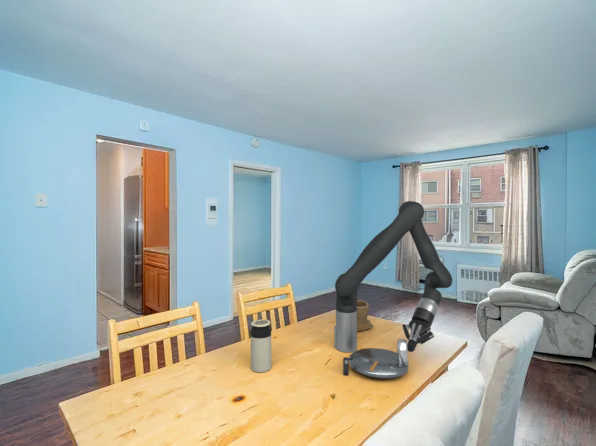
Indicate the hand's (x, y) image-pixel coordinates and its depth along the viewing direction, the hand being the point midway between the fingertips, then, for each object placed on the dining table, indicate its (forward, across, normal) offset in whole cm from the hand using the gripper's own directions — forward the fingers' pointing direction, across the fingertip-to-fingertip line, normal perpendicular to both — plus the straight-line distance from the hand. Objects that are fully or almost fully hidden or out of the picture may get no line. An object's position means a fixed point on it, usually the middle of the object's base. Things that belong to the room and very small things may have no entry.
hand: (409, 350), depth 121 cm
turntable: (+9, -9, -1) cm, 13 cm away
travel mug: (+34, -40, -23) cm, 57 cm away
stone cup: (-10, -41, +22) cm, 47 cm away
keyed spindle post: (+13, -9, -2) cm, 16 cm away
